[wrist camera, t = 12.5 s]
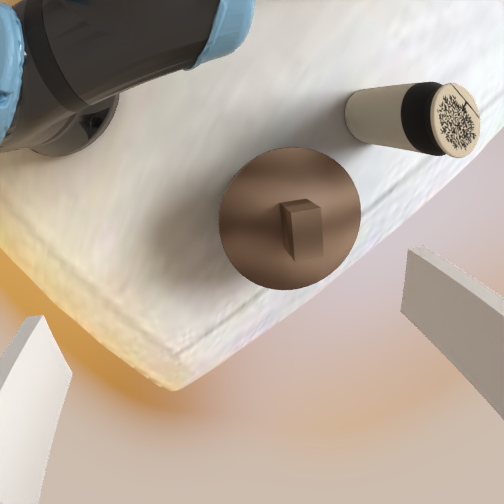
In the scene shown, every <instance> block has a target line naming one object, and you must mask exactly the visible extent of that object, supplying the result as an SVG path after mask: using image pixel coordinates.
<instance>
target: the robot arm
mask: <svg viewBox="0 0 504 504" xmlns="http://www.w3.org/2000/svg"><path fill="white" fill-rule="evenodd" d="M254 5H255V0H22V1H20V2H18V3H17V4H15V5H14V6H12V7H10V6H8V5H7V4H5V3H0V153H3V152H8V151H12V150H17V149H22V148H27V147H28V148H30V149H31V150H33V151H34V152H36V153H39V154H42V155H47V156H62V155H66V154H70V153H74V152H77V151H79V150H81V149H83V148H85V147H87V146H88V145H90V144H91V143H93V142H94V141H95V140H96V139H97V138H98V137H99V136H100V135H101V134H102V133H103V132H104V130H105V129H106V128H107V126H108V125H109V123H110V121H111V120H112V118H113V116H114V113H115V111H116V108H117V104H118V100H119V93H120V92H123V91H125V90H128V89H130V88H133V87H135V86H138V85H140V84H143V83H145V82H148V81H151V80H153V79H156V78H159V77H161V76H164V75H167V74H170V73H173V72H176V71H179V70H182V69H183V70H185V71H187V70H192V69H194V68H195V67H197V66H199V65H200V64H202V63H205V62H208V61H211V60H214V59H217V58H220V57H224V56H226V55H229V54H230V53H232V52H234V51H235V49H237V48H238V47H239V46H240V45H241V44H242V43H243V42H244V40H245V38H246V36H247V34H248V32H249V29H250V26H251V23H252V18H253V13H254ZM401 312H402V313H403V314H404V315H405V316H406V317H407V318H408V319H409V320H410V321H411V322H412V323H413V324H414V325H415V326H416V327H417V328H418V329H419V330H420V331H421V332H422V333H423V334H424V335H425V336H426V337H427V338H428V339H429V340H430V341H431V342H432V343H433V344H434V345H435V346H436V347H437V348H438V349H439V350H440V351H441V352H442V353H443V354H444V355H445V356H446V357H447V359H448V360H449V361H450V362H451V363H452V364H453V365H454V366H455V367H456V368H457V369H458V370H459V371H460V372H461V373H462V374H463V375H464V376H465V378H467V380H468V381H469V382H470V383H471V384H472V385H473V386H474V387H475V388H476V389H477V390H478V392H479V393H480V394H481V395H482V396H483V397H484V398H485V399H486V400H487V401H488V403H489V404H490V405H491V406H492V407H493V408H494V409H495V410H496V412H497V413H498V414H499V415H500V416H501V417H502V418H503V419H504V298H503V297H502V296H500V295H499V294H497V293H496V292H494V291H493V290H492V289H490V288H489V287H487V286H486V285H484V284H483V283H481V282H480V281H478V280H477V279H475V278H474V277H472V276H471V275H469V274H468V273H466V272H465V271H463V270H462V269H460V268H459V267H457V266H456V265H454V264H452V263H451V262H449V261H448V260H446V259H444V258H443V257H441V256H440V255H438V254H437V253H435V252H433V251H432V250H430V249H428V248H427V247H425V246H424V245H422V246H418V247H414V248H409V249H408V255H407V265H406V274H405V283H404V290H403V298H402V305H401ZM72 375H73V374H72V372H71V370H70V368H69V366H68V364H67V363H66V361H65V359H64V357H63V355H62V353H61V351H60V349H59V347H58V345H57V343H56V341H55V339H54V337H53V335H52V333H51V331H50V329H49V327H48V325H47V322H46V320H45V318H44V316H43V315H37V316H29V317H27V318H26V319H25V321H24V322H23V323H22V325H21V327H20V328H19V330H18V331H17V333H16V334H15V336H14V337H13V339H12V340H11V342H10V344H9V345H8V347H7V348H6V350H5V352H4V353H3V355H2V357H1V358H0V504H39V499H40V493H41V488H42V483H43V479H44V474H45V470H46V465H47V461H48V457H49V452H50V448H51V445H52V441H53V437H54V433H55V430H56V426H57V423H58V419H59V416H60V413H61V409H62V406H63V402H64V400H65V396H66V393H67V390H68V387H69V384H70V381H71V378H72Z"/></svg>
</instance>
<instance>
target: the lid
mask: <svg viewBox="0 0 504 504" xmlns="http://www.w3.org/2000/svg"><path fill="white" fill-rule="evenodd" d="M360 220H361V207H360V200H359V195H358V192H357V189H356V187H355V185H354V183H353V181H352V179H351V177H350V176H349V174H348V173H347V172H346V170H345V169H344V168H343V167H342V166H341V165H340V164H339V163H337V162H336V161H335V160H334V159H332V158H330V157H329V156H327V155H325V154H323V153H320V152H318V151H314V150H310V149H306V148H299V147H285V148H279V149H274V150H271V151H268V152H266V153H263V154H261V155H259V156H257V157H256V158H254V159H253V160H251V161H250V162H248V163H247V164H246V165H245V166H244V167H243V168H241V169H240V170H239V172H238V173H237V174H236V175H235V176H234V178H233V179H232V181H231V182H230V184H229V185H228V187H227V189H226V191H225V193H224V196H223V199H222V202H221V206H220V211H219V233H220V237H221V241H222V245H223V248H224V250H225V253H226V255H227V257H228V258H229V260H230V262H231V263H232V264H233V266H234V267H235V268H236V270H238V271H239V272H240V273H241V274H242V275H243V276H244V277H246V278H247V279H248V280H250V281H252V282H254V283H255V284H257V285H260V286H263V287H266V288H270V289H276V290H293V289H299V288H303V287H306V286H309V285H312V284H314V283H317V282H318V281H320V280H322V279H324V278H325V277H327V276H328V275H329V274H331V273H332V272H333V271H334V270H335V269H337V268H338V267H339V266H340V264H341V263H342V262H343V261H344V260H345V258H346V257H347V256H348V254H349V252H350V251H351V249H352V247H353V245H354V243H355V240H356V238H357V235H358V231H359V227H360Z"/></svg>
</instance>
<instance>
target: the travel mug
mask: <svg viewBox="0 0 504 504" xmlns="http://www.w3.org/2000/svg"><path fill="white" fill-rule="evenodd" d="M345 120H346V124H347V126H348V129H349V130H350V132H351V133H352V135H353V136H354V137H355V138H357V139H358V140H360V141H361V142H364V143H368V144H375V145H381V146H387V147H393V148H399V149H404V150H410V151H415V152H420V153H425V154H430V155H435V156H442V155H445V154H448V155H449V156H451V157H454V158H462V157H465V156H467V155H468V154H470V153H471V152H472V151H473V149H474V148H475V146H476V144H477V142H478V138H479V134H480V116H479V111H478V108H477V105H476V103H475V101H474V99H473V97H472V96H471V94H470V93H469V92H468V91H467V90H466V89H465V88H464V87H462V86H461V85H459V84H455V83H448V84H445V85H442V84H439V83H436V82H423V83H412V84H402V85H393V86H385V87H377V88H370V89H363V90H359V91H357V92H355V93H354V94H353V95H352V96H351V97H350V98H349V100H348V102H347V104H346V108H345Z"/></svg>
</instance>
